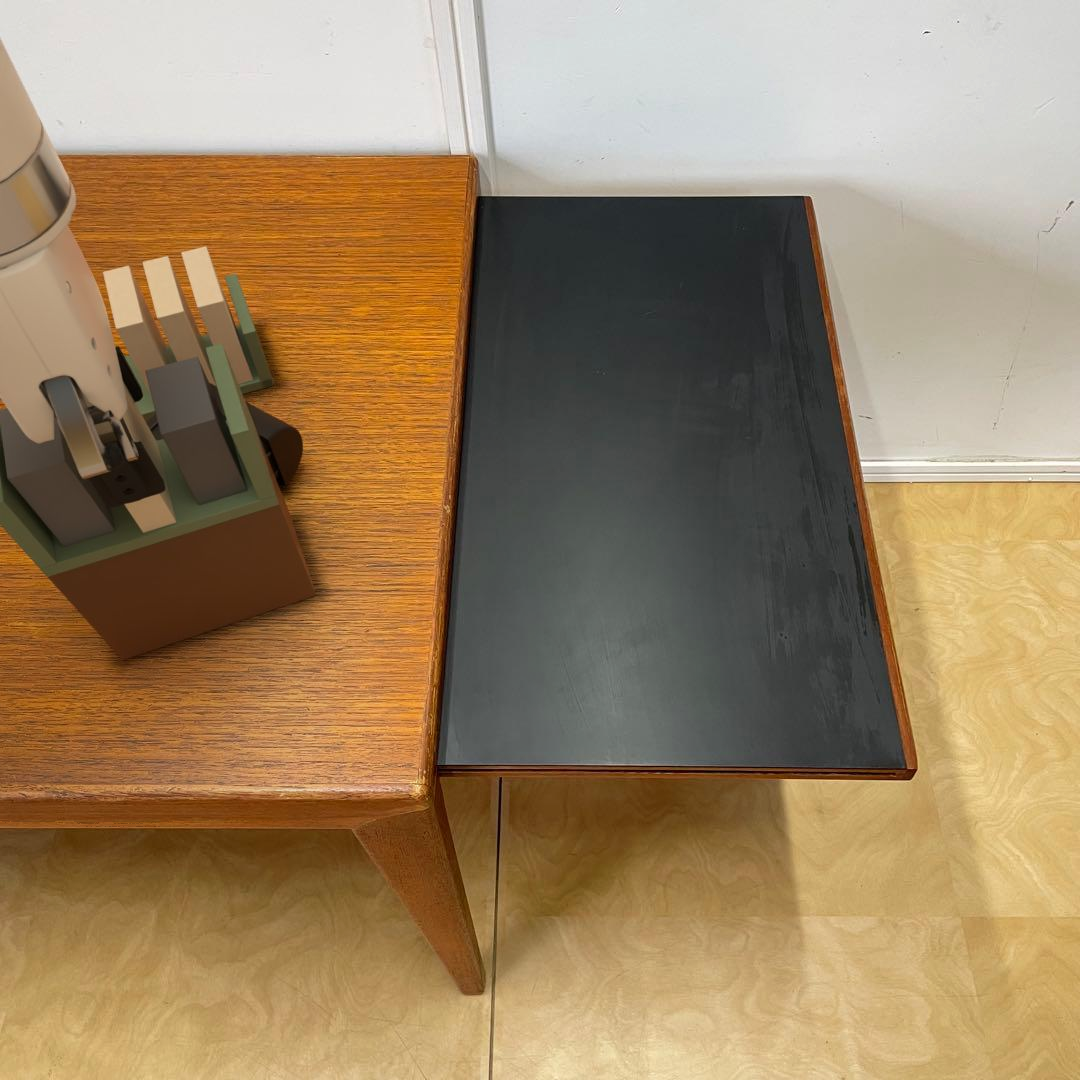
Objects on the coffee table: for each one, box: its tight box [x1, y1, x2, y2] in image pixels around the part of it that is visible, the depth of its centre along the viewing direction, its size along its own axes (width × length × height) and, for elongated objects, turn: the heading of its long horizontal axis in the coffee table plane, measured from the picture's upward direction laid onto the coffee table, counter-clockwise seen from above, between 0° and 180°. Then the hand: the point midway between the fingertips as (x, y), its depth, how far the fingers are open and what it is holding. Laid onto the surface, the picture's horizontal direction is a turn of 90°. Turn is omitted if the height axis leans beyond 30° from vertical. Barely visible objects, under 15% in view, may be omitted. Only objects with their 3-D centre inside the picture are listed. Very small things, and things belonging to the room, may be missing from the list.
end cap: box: [146, 383, 304, 492], centre depth 71 cm, size 10×7×7 cm
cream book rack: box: [102, 245, 275, 422], centre depth 74 cm, size 16×7×10 cm, turn 112°
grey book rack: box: [0, 344, 317, 661], centre depth 59 cm, size 14×7×20 cm, turn 112°
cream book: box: [85, 382, 176, 533], centre depth 53 cm, size 2×6×9 cm, turn 22°
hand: (126, 446), depth 53 cm, fingers closed on cream book, 6 cm apart
